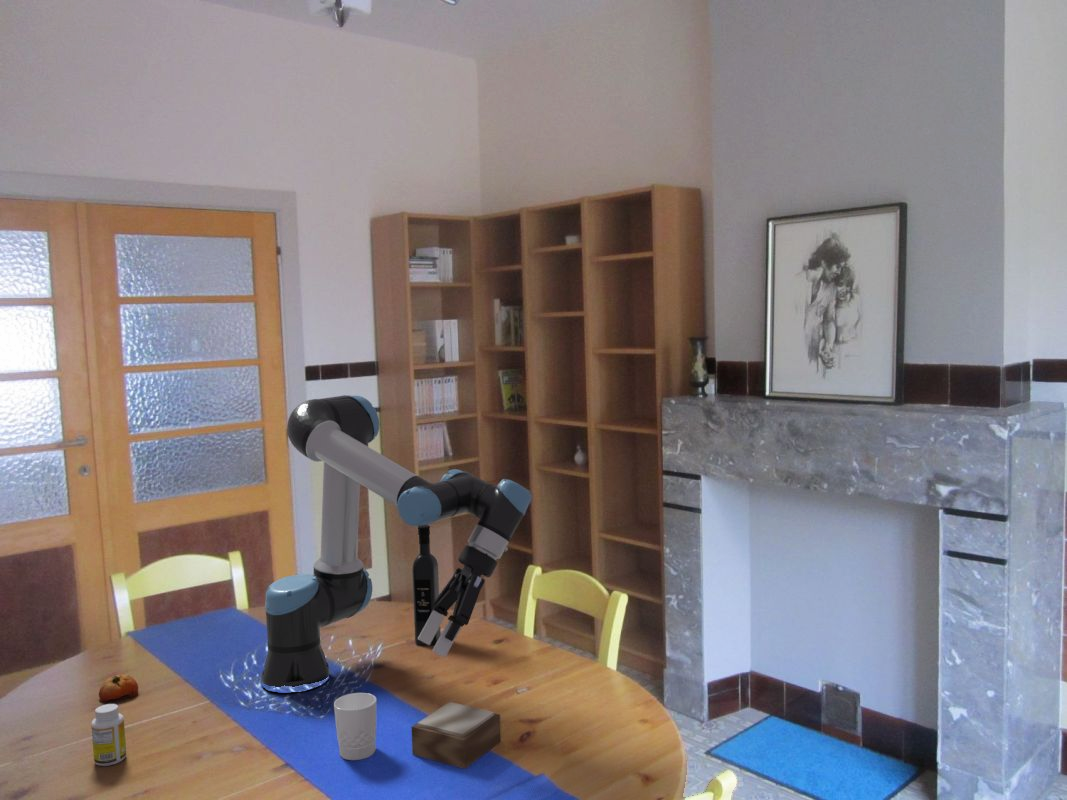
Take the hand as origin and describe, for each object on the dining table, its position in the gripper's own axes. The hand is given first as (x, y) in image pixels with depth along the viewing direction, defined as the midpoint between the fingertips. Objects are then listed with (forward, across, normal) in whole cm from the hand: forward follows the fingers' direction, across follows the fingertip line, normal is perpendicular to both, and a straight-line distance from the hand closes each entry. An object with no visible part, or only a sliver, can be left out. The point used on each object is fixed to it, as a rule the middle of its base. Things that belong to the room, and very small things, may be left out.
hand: (430, 648), depth 176 cm
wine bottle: (+2, +52, -14) cm, 54 cm away
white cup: (+23, -1, +3) cm, 23 cm away
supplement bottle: (+46, +14, +41) cm, 63 cm away
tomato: (+43, +46, +45) cm, 78 cm away
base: (+13, -6, -12) cm, 19 cm away
